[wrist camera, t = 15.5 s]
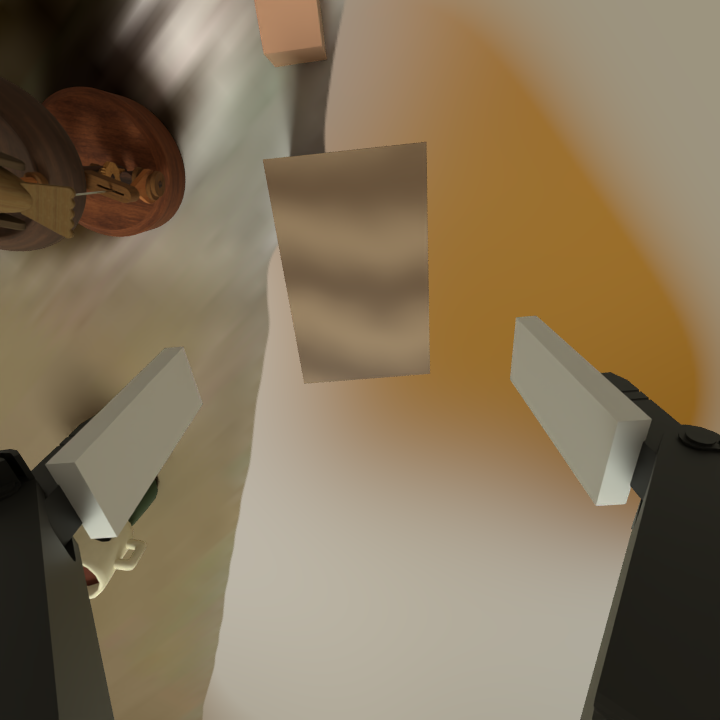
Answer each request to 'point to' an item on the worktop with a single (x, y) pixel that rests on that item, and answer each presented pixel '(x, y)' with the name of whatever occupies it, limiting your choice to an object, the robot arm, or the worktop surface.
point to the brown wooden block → (355, 259)
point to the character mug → (112, 549)
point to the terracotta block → (291, 31)
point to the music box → (82, 167)
